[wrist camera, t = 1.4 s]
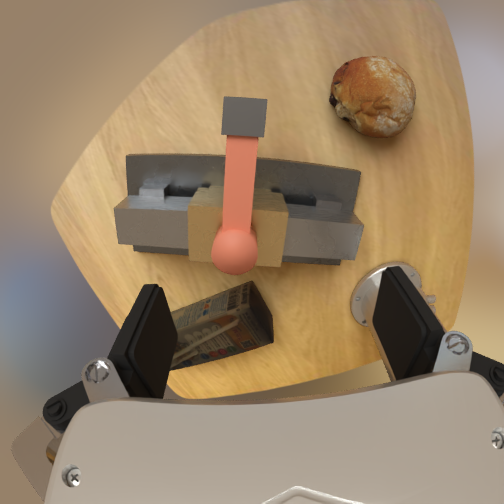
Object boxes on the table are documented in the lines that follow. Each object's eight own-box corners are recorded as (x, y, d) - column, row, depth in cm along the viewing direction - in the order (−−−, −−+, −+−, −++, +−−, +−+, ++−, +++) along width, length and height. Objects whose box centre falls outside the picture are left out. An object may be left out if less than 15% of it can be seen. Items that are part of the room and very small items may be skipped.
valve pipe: (358, 170, 32) (387, 190, 24) (337, 261, 38) (355, 299, 30) (128, 154, 30) (95, 170, 23) (136, 247, 37) (112, 282, 29)
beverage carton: (148, 317, 43) (137, 346, 38) (252, 275, 39) (252, 306, 34) (175, 347, 47) (168, 376, 41) (275, 313, 43) (278, 345, 37)
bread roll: (378, 134, 33) (427, 146, 26) (321, 132, 29) (375, 143, 22) (379, 65, 28) (429, 67, 21) (320, 50, 24) (374, 43, 18)
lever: (255, 260, 28) (255, 276, 25) (214, 257, 27) (211, 273, 25) (270, 100, 20) (273, 99, 18) (221, 97, 20) (217, 96, 18)
